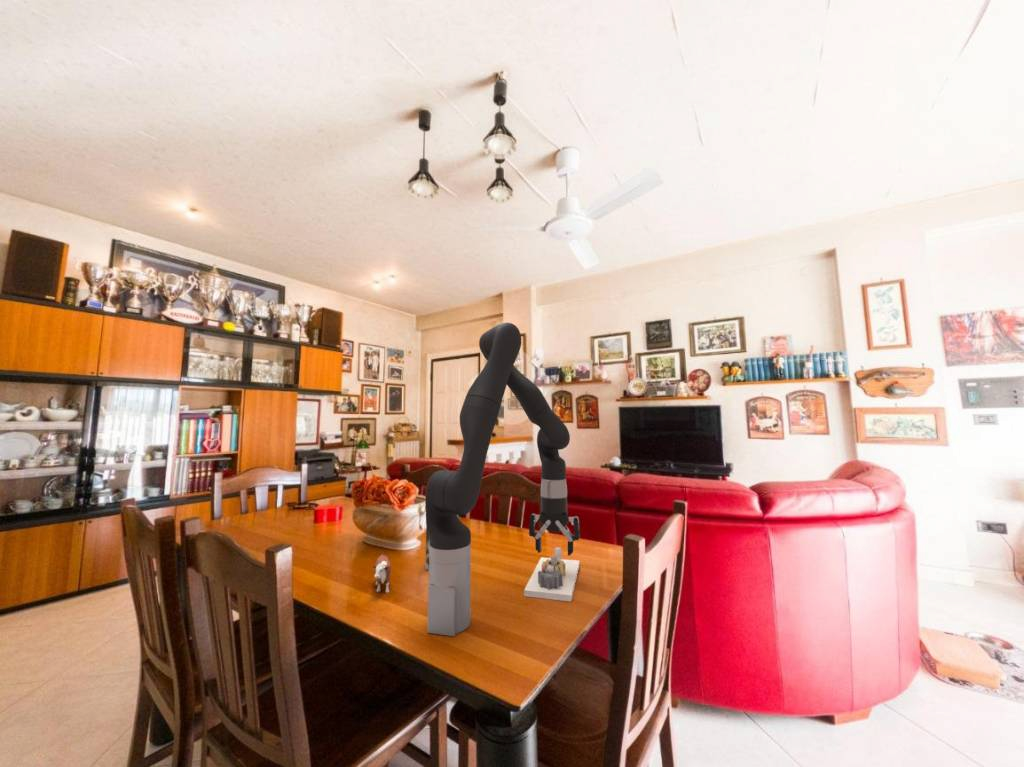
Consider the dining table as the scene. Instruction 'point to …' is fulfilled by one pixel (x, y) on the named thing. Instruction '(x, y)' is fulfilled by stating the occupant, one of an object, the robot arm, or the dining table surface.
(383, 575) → the bull figurine
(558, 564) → the brass gear
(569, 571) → the gear board
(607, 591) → the dining table surface
